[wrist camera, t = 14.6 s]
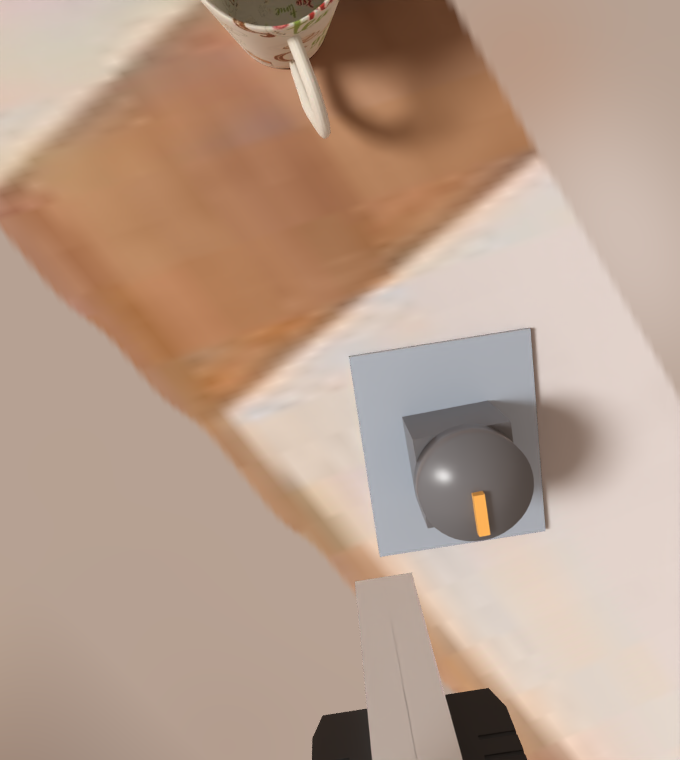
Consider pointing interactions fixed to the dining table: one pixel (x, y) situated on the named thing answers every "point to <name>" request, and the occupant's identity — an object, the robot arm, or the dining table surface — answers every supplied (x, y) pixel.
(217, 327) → the dining table surface
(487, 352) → the shaft board
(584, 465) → the dining table surface
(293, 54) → the mug
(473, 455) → the knob
